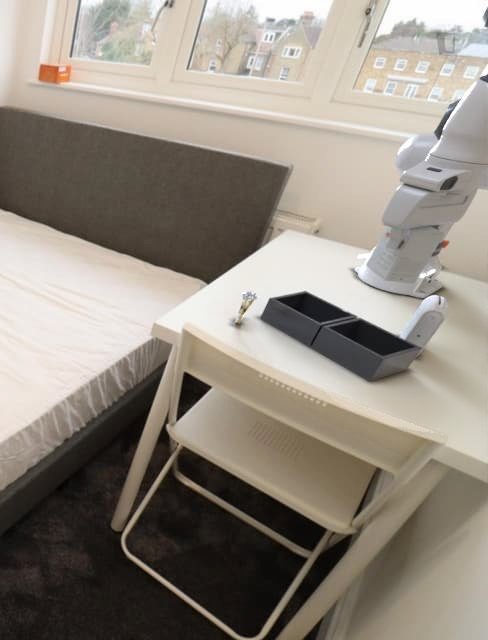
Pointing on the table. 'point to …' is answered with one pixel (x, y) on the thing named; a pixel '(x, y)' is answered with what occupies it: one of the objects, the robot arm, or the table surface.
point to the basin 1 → (303, 315)
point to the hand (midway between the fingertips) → (406, 246)
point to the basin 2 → (365, 348)
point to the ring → (245, 305)
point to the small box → (405, 254)
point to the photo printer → (426, 321)
